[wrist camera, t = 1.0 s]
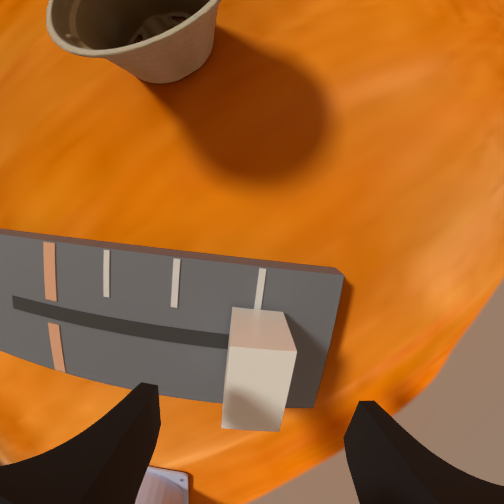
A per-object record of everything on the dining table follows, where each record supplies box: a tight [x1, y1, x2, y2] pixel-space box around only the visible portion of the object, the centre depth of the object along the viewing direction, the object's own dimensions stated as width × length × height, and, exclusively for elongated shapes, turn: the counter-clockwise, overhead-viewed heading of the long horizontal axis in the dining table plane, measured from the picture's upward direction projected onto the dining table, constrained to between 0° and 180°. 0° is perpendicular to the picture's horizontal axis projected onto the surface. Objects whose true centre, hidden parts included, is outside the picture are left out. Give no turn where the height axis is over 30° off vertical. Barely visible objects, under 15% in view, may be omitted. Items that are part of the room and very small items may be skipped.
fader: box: [221, 307, 297, 432], centre depth 16 cm, size 5×3×5 cm, turn 173°
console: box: [0, 229, 344, 408], centre depth 20 cm, size 10×26×2 cm, turn 83°
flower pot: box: [46, 0, 221, 84], centre depth 13 cm, size 9×9×9 cm
